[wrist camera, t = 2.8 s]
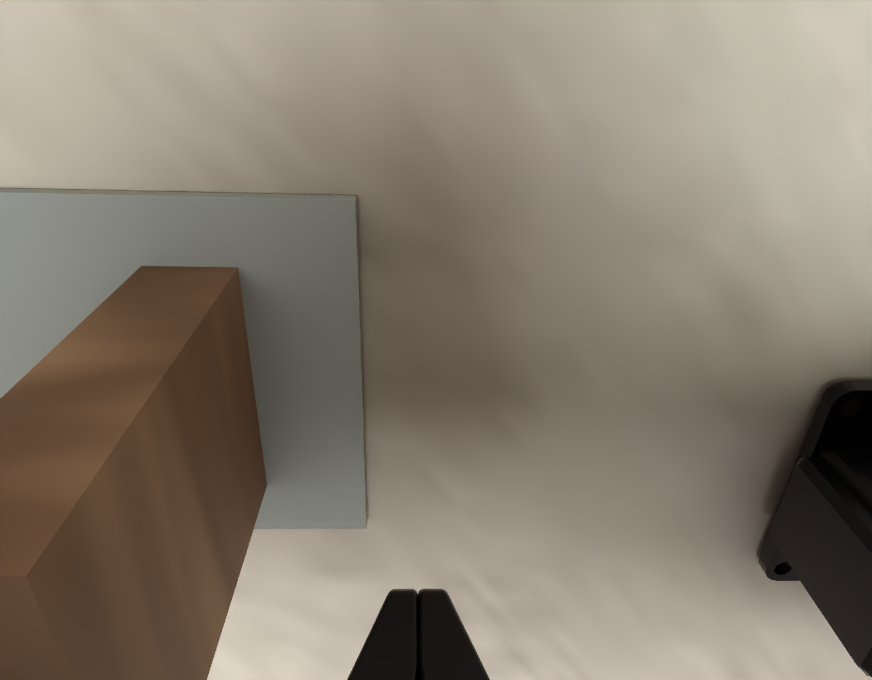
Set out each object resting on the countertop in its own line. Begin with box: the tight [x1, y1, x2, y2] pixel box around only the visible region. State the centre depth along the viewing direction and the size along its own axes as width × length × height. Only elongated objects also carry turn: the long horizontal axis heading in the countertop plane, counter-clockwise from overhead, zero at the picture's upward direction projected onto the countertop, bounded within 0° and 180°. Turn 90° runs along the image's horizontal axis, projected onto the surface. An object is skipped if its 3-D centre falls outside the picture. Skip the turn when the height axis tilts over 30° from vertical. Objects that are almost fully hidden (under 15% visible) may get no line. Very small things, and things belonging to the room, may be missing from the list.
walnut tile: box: [0, 266, 267, 680], centre depth 11 cm, size 2×6×8 cm, turn 179°
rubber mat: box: [0, 188, 367, 528], centre depth 14 cm, size 15×9×1 cm, turn 88°
